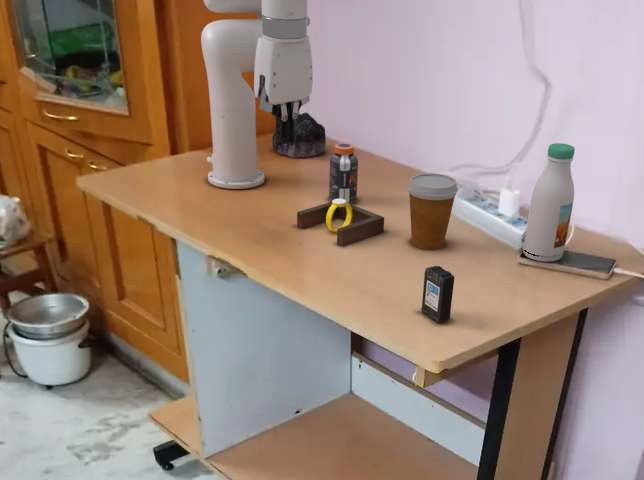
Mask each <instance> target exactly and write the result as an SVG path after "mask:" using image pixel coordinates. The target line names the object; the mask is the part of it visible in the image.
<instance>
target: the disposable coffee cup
mask: <svg viewBox="0 0 644 480" xmlns="http://www.w3.org/2000/svg"><path fill="white" fill-rule="evenodd" d="M409 179H410V180H409V183H407V186H406V187H407V190H408V193H409V210H410V211H409V216H410V233H411V234H410V235H411V245H413V246H414V247H416V248H419V249H423V250H437V249H441V248H442V247H444V245H445V242H446V241H445V240H446V236H447V232H448V227H449V223H450V219H451V216H452V215H451V214H452V211H453V205H454V203H455V202H454V201H455V197H456V195H457V193H458V191H459V187H458V186H457V185H458V184H457V180H456V179H455V178H454V177H451V176H449V175H446V174H441V173H433V172H432V173H431V172H429V173H428V172H427V173H426V172H425V173H419V174H418V173H417V174H415V175H413V176H411V177H410V178H409Z"/></svg>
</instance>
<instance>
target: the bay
mask: <svg viewBox="0 0 644 480" xmlns="http://www.w3.org/2000/svg"><path fill="white" fill-rule="evenodd" d="M346 203H347V202H346ZM348 204H349V203H348ZM331 205H332V201H330V202H326V203H323V204H319V205H316V206H312V207H310V208H305V209H302V210H299V211H297V212H296V227H297V228H300V229H302V230H303V229H305V228H309V227H312V226H316V225H319V224H322V223H326V215H327V212H328V209H329V208H330V207H331ZM350 206H351V208H352V214H353V216H352V220H351V223H350V225H347V226H344V227H341V228H338V227H337V228H338V229H337V233H336V245H338V246H341V247H344V246H346V245H349V244H352V243H355V242H359V241H362V240H364V239H367V238H371V237H373V236H377V235H379V234H382V233H384V231H385V216H382V215H380V214H377V213H375V212H372V211H370V210H367V209H364V208H362V207H359V206H357V205H354V204H353V203H350ZM346 216H347V208H346V207H345V206H343V207H337V208H336V210H335V211H334V213H333V216H332V220H335V219H341V220H344V221H346Z"/></svg>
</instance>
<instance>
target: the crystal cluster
mask: <svg viewBox="0 0 644 480" xmlns="http://www.w3.org/2000/svg"><path fill="white" fill-rule="evenodd" d="M274 130H275V132H273V134H272V138H271V147H272V149H273V150H274V151H276V152H277V153H279V154H281V155H284V156H288V157H290V158H294V159H295V158H308V157H309V158H310V157H313V156H316V155H319V154H322V153H325V151H326V147H327V146H326V145H327V141H326V140H327V135H326V128H325V127H324V126H323V124H321V123H319V122H318V121H316V119H315V118H314V117H313V116H311V114H309V113H308V112H306V111H305V112H302V113H298V116H297V118H296V119H294V142H293V143H289V144H285V143H282V142H280V141H277V139H276V125H275V126H274Z"/></svg>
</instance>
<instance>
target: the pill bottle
mask: <svg viewBox="0 0 644 480" xmlns="http://www.w3.org/2000/svg"><path fill="white" fill-rule="evenodd" d="M354 153H355V146H354V145H353V144H351V143H345V142H340V143H339V142H338V143H336V144H335V145H334V154H333V155H331V156H330V158H329V184H328V199H329V200H330V202H332V201H333V200H334V199H345V200H346V202H347V203H349V204H353V203H355V202H356V201H357V199H358V198H357V197H358V174H359V173H358V171H359V169H358V168H359V158H358V157H357V156H356V155H355V154H354Z"/></svg>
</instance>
